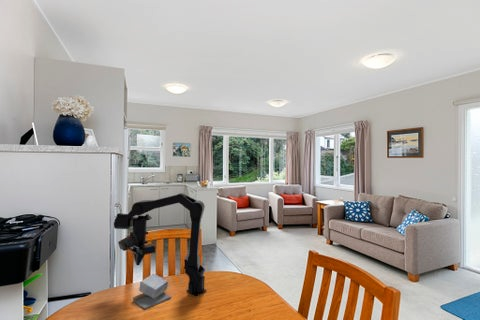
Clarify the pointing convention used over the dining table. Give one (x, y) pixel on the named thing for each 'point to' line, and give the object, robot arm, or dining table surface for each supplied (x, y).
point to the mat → (149, 300)
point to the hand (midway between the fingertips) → (137, 265)
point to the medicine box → (153, 286)
